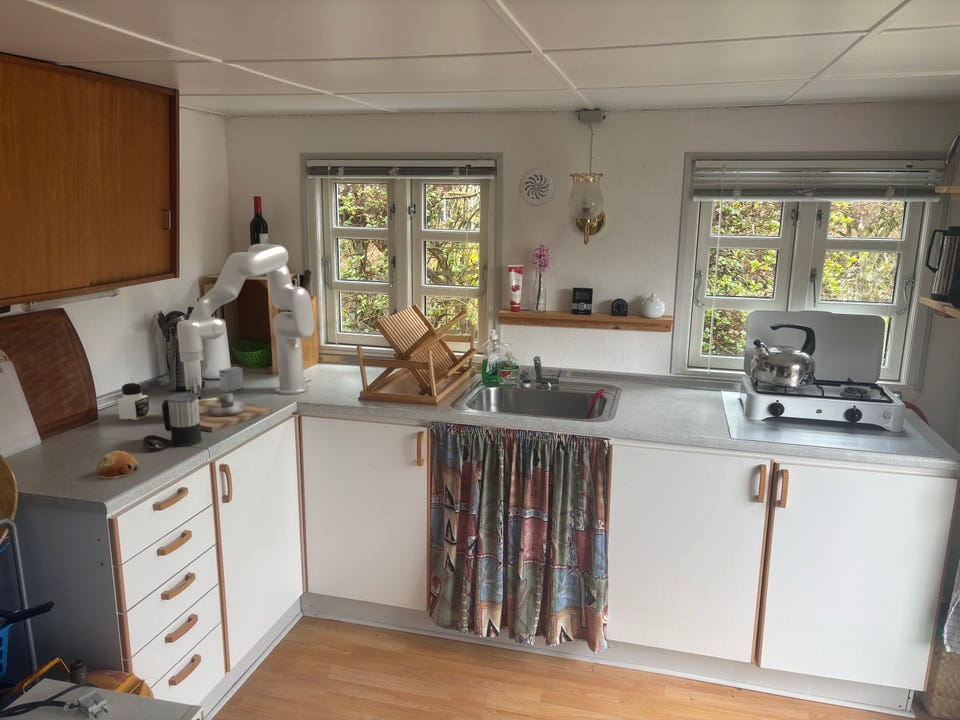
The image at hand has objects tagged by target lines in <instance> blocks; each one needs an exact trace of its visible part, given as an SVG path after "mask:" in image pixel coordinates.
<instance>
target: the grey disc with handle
mask: <svg viewBox="0 0 960 720" xmlns="http://www.w3.org/2000/svg"><path fill="white" fill-rule="evenodd" d="M198 405H199V410H200V409H209V413H210V414H211V415H214V416H230V415H236V414H240V413H242V412H244V411H245V402H243V401H237V400H234V394H233V393H231V392H228V393H226V392H224V393H221V394H219V397H212V398H201V400H198Z"/></svg>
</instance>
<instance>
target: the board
mask: <svg viewBox="0 0 960 720" xmlns="http://www.w3.org/2000/svg"><path fill="white" fill-rule="evenodd" d="M244 403H245V402H244ZM271 413H272V408H271V407H267V406H262V405H261V406H260V405H256V404H250V403H245V411H244V412H242V413H240V414H236V415H230V416H214V415H211V414H210V413H209V409H200V410H199V420H200V430H201V429H204V430H203V431H206V430H208V431H207V432H210V431H213V432H216V431H219V430H222V429H221V428H223V429H225V428H224V427H226V428H228V427H227V426H229V427H231V426H230V425H232V426H234V425H233V424H235V425H237V424H236V423H238V424H240V423H239V422H241V423H243V422H242V421H244V422H246V421H245V420H247V421H249V420H248V419H250V420H252V418H253V419H256V418H259V417H262V416H265V415H269V414H271ZM258 416H259V417H258ZM255 417H256V418H255ZM218 429H219V430H218ZM215 430H216V431H215Z"/></svg>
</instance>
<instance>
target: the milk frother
mask: <svg viewBox="0 0 960 720" xmlns="http://www.w3.org/2000/svg"><path fill="white" fill-rule="evenodd" d="M198 397H199V396H198V395H196V394H191V393H178V394H174V395H170V396H168V397H167V398H166V399H165V400H163V402H162V404H161V410H162V417H163V424H164V429H165V431H167V432H171V433H170V434H171V439H167V438H165V437H162V436H158V435H154V434H153V435H152V434H151V435H145V436H144V437H143V439H142V445H143V447H145V448H146V449H148V450H150V451H161V450H163V449H166V448H167V446H168V442H170V444H171V445H172V446H175V447H189V446H194V444H195V445H197V444H200V443H201V442H202V441H203V438H202V432H201V431H202V430H201V429H200V420H199V405H198ZM154 440H155V441H154ZM157 441H159V442H161V445H158V444H159V442H157Z"/></svg>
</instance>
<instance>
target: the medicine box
mask: <svg viewBox="0 0 960 720" xmlns="http://www.w3.org/2000/svg"><path fill="white" fill-rule="evenodd" d="M218 374H219V384H220V385H219V387H220V391H221V392H222V391H225V392H224V393H226V392H228V393H230V392H229V391H231V392H234V391H233V390H235V391H238V390H237V389H239V390H242V389H241V388H243V389H244V379H243V378H244V376H243V368H241V367H238V366H233V367H228V368H224V369H220V370H218Z"/></svg>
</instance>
